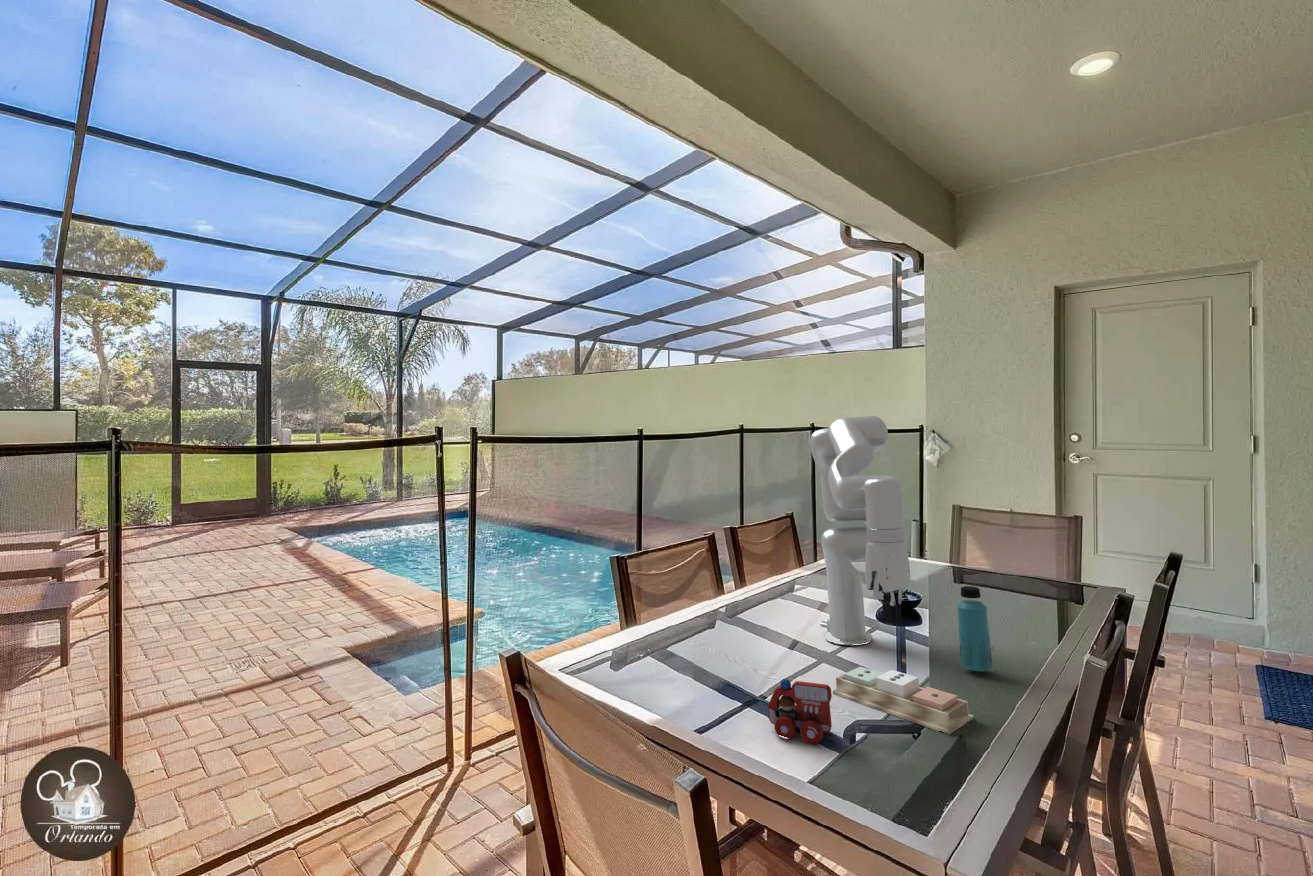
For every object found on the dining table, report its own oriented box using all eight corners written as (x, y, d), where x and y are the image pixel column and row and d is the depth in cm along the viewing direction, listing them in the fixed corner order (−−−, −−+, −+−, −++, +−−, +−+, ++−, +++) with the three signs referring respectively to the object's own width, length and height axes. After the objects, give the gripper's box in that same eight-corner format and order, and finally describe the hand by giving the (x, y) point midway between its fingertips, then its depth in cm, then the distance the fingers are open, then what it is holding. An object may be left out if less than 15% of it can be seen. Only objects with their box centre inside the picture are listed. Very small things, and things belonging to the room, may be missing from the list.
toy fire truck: (776, 720, 119) (773, 669, 119) (838, 732, 113) (834, 678, 113) (765, 736, 113) (761, 682, 113) (829, 749, 106) (826, 692, 107)
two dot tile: (845, 689, 129) (844, 673, 129) (861, 682, 133) (860, 666, 133) (869, 698, 124) (868, 681, 124) (885, 689, 128) (883, 673, 128)
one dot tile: (913, 713, 116) (912, 695, 116) (929, 704, 120) (927, 686, 120) (943, 723, 112) (941, 704, 112) (958, 713, 115) (957, 695, 115)
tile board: (832, 693, 130) (831, 678, 130) (858, 681, 135) (857, 666, 135) (949, 735, 109) (948, 716, 109) (973, 718, 115) (972, 701, 115)
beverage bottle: (997, 678, 133) (991, 590, 133) (965, 677, 134) (959, 590, 134) (987, 667, 139) (981, 583, 139) (957, 667, 140) (951, 584, 141)
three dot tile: (877, 694, 123) (875, 677, 123) (893, 686, 126) (891, 669, 126) (903, 703, 118) (902, 685, 118) (919, 694, 122) (918, 677, 122)
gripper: (890, 530, 131) (895, 612, 130) (849, 539, 122) (855, 627, 121) (922, 532, 125) (928, 619, 124) (882, 542, 116) (888, 635, 115)
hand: (892, 623), depth 122 cm, fingers closed
